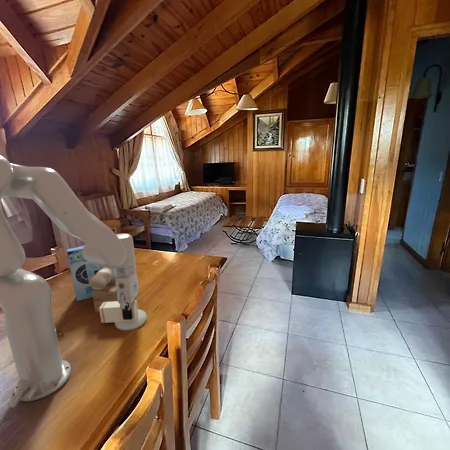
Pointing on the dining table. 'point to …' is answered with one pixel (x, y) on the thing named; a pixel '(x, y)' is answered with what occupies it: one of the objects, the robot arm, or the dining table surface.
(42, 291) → the robot arm
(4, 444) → the dining table surface
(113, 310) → the white box
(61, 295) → the dining table surface
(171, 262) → the dining table surface
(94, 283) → the dispenser
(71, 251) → the gum box
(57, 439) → the dining table surface
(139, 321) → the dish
